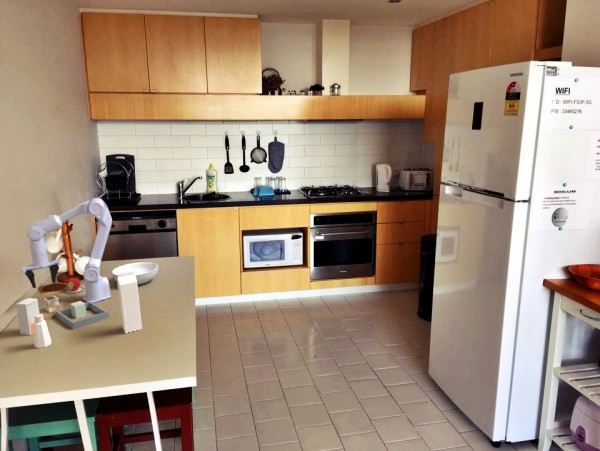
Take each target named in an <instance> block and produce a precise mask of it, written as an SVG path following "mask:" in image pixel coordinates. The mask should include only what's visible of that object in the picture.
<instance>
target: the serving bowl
mask: <svg viewBox="0 0 600 451" xmlns="http://www.w3.org/2000/svg"><path fill="white" fill-rule="evenodd" d="M158 270H159V265H158V264H157V263H154V262H150V261H148V262H146V261H143V262H133V263H125V264H124V265H123V264H122V265H119V266H118V267H115V268H114V269H113V270H112V271H111V273H112V274H111V275H112V277H113V279H114V280H115V281H116V282H117V279H118V274H120V273H126V272H132V271H134V272H135V277H136V280H137V286H138V285H142V284H146V283H148V282H150V281H151V280H153V279H154V278H155V277H156V276H157V274H158Z"/></svg>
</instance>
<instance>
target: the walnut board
mask: <svg viewBox="0 0 600 451" xmlns="http://www.w3.org/2000/svg"><path fill="white" fill-rule="evenodd" d="M70 304H71V303H68V302H67V301H65V300H64V301H63V300H62V301H59V307H60V310H63V309H66V308H70V307H71V306H70ZM57 311H59V310H57ZM39 314H43V320H45V321H47V320H50V319H51V320H52V319H54V318H57V315H56V311H54V312H50V313H49V312H48V311H46V310H45V306H42V307H39Z"/></svg>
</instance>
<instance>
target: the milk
mask: <svg viewBox="0 0 600 451" xmlns="http://www.w3.org/2000/svg"><path fill="white" fill-rule="evenodd" d="M116 282H117V283H116V284H117V292H118V299H119V308H120V316H121V324H122V325H121V326H122V328H123V329H122V330H123V332H124V333H125V334H129V333H128V332H130V333H133V332H132V331H135V332H137V331H136V330H139V331H141V330H140V329H142V330H143V324H142V323H143V322H142V317H141V316H142V315H141V307H140V305H141V304H140V295H139V289H138V285H137V280H136V277H135V272H134V271H132V272H126V273H120V274H118V279H117V281H116Z"/></svg>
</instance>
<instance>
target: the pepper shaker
mask: <svg viewBox="0 0 600 451" xmlns="http://www.w3.org/2000/svg"><path fill="white" fill-rule="evenodd" d="M34 318H35V322H34V333H33V344H34V348H37V349H42V348H46V347H49V346H51V344H52V338H51V335H50V332H49V329H48V325H47V322H46V321H47V320H43V314H37V315H35V316H34Z"/></svg>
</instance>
